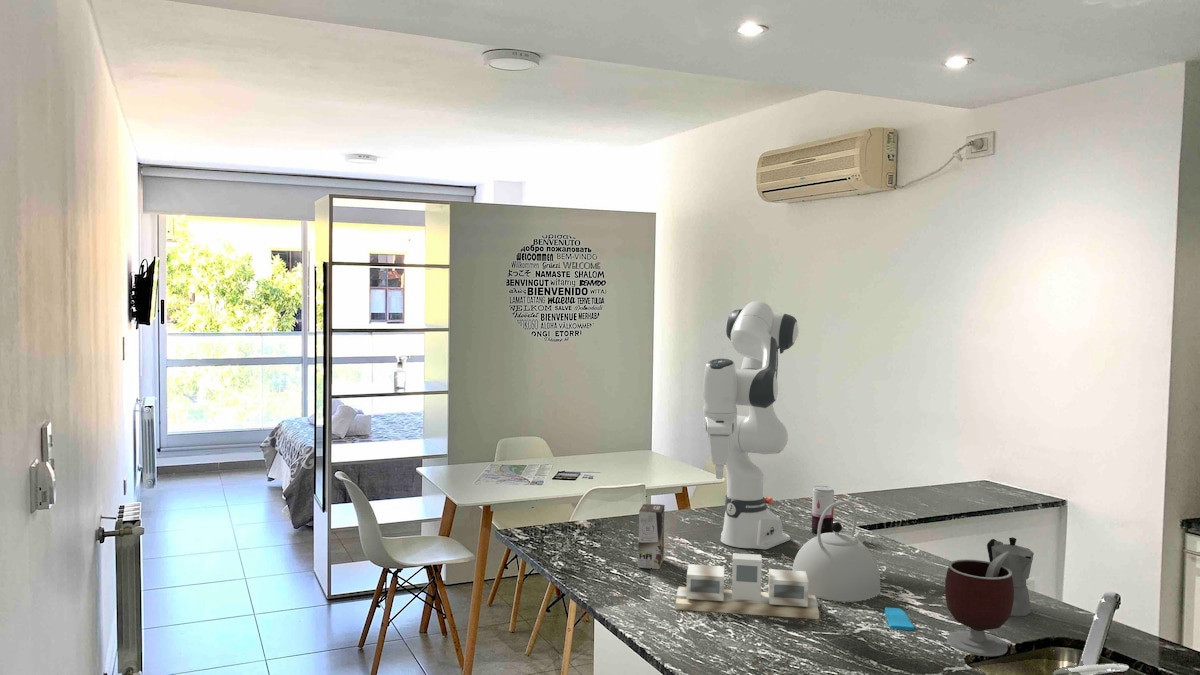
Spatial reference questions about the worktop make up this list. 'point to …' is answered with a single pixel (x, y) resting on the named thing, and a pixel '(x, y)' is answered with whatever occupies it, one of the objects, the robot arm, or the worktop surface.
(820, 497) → the beverage can
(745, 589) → the block
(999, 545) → the coffeepot
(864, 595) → the kettle
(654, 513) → the coffee box
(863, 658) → the worktop surface
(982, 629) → the mate gourd
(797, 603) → the rail board
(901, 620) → the sponge
